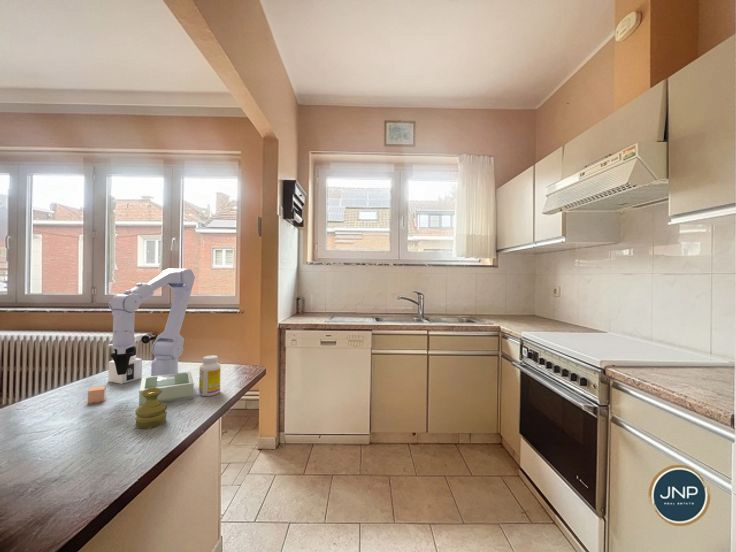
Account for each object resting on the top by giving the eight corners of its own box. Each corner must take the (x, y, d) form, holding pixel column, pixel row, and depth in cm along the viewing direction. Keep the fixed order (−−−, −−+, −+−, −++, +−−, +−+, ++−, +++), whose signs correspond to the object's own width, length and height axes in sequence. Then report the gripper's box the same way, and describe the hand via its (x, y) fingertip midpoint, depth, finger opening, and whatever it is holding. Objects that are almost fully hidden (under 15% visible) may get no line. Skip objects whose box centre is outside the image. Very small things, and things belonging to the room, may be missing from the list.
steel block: (157, 391, 114) (157, 376, 113) (173, 388, 116) (174, 374, 116) (156, 395, 109) (157, 380, 109) (174, 393, 112) (174, 378, 112)
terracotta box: (90, 399, 108) (90, 387, 108) (105, 397, 110) (105, 385, 110) (87, 403, 104) (88, 391, 104) (103, 401, 106) (104, 389, 106)
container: (142, 378, 130) (142, 345, 129) (121, 384, 122) (122, 349, 122) (128, 375, 132) (129, 343, 132) (107, 381, 125) (108, 347, 125)
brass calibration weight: (132, 431, 87) (133, 394, 87) (137, 420, 94) (138, 385, 94) (165, 426, 90) (166, 390, 90) (167, 415, 97) (168, 381, 97)
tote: (142, 391, 115) (142, 377, 115) (190, 384, 123) (190, 371, 123) (139, 406, 103) (139, 390, 103) (193, 398, 111) (193, 383, 110)
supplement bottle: (223, 390, 118) (224, 355, 118) (213, 397, 112) (214, 359, 112) (206, 389, 119) (207, 354, 119) (194, 396, 112) (195, 358, 112)
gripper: (111, 328, 113) (110, 367, 113) (105, 334, 101) (104, 379, 101) (136, 326, 117) (135, 364, 117) (133, 333, 104) (132, 375, 104)
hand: (122, 371), depth 109 cm, fingers open, 7 cm apart
